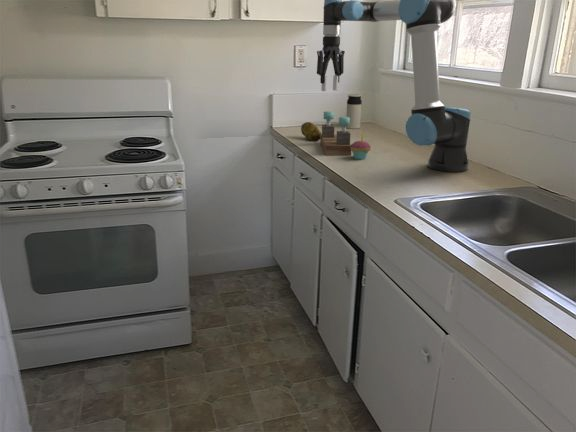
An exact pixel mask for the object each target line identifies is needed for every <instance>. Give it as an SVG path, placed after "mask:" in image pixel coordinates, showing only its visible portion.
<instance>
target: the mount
mask: <svg viewBox="0 0 576 432" xmlns="http://www.w3.org/2000/svg"><path fill="white" fill-rule="evenodd" d="M319 143H320V146H321V147H322V150H323V152H324V155H325V156H352V151H351V149H350V147H351V144H352V143H351V132H350V131H349V130H346V133H342V130H337V131H336V133H335V125H334V124H330V126H326V124H321V134H320V140H319Z"/></svg>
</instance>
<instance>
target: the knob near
mask: <svg viewBox="0 0 576 432" xmlns="http://www.w3.org/2000/svg"><path fill="white" fill-rule="evenodd" d="M349 122H350V118H349V117H346V116H340V117H338V126H341V131H342V133H346V131H347V128H346V126H348V125H349Z"/></svg>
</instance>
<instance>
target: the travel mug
mask: <svg viewBox="0 0 576 432" xmlns="http://www.w3.org/2000/svg"><path fill="white" fill-rule="evenodd" d="M362 95H363V94H357V93H349V94H348V95H347V97H348V98H347V100H346V116H345V117H349V118H350V122H349V125H348V126H346V129H350V130H351V129H352V130H357V129H360V128H361V119H362V116H361V115H362V102H363V101H362Z"/></svg>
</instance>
